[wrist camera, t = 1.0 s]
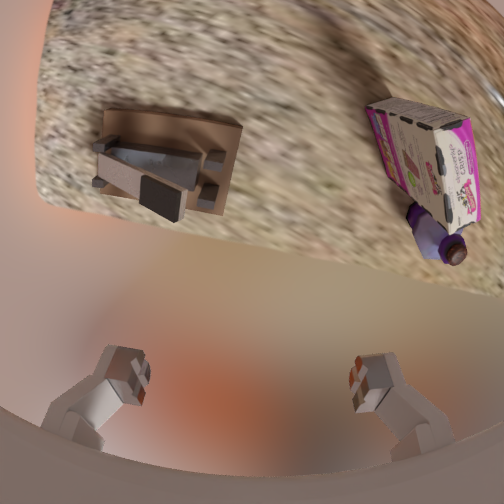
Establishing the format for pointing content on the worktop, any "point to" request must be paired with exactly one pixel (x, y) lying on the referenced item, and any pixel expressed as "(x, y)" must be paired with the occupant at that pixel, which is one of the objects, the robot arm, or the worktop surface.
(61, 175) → the worktop surface
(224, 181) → the walnut base plate
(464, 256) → the potion bottle
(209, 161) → the block
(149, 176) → the clamp bar
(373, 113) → the candy bar box
